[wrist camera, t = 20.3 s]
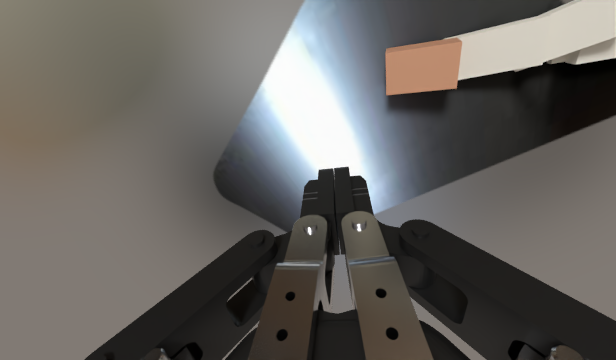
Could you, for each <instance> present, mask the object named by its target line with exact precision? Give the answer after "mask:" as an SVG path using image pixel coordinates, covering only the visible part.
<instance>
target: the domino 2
mask: <svg viewBox="0 0 616 360" xmlns="http://www.w3.org/2000/svg"><path fill="white" fill-rule="evenodd" d="M550 20H551V15H547V14H544V15H540V16H536V17H532V18H528V19H523V20H519V21H515V22H511V23H507V24H503V25H499V26H495V27H490V28H486V29H482V30H478V31H474V32H470V33H466V34H462V35H458V36H453V37H449V38H445V39H451V38H458V39H460V40H461V41H462V49H461V57H460V65H459V74H458V80H462V79H467V78H473V77H478V76H484V75H489V74H495V73H500V72H505V71H511V70H516V69H522V68H527V67H533V66H538V65H543V59H544V54H545V48H546V43H547V37H548V31H549V26H550Z"/></svg>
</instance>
